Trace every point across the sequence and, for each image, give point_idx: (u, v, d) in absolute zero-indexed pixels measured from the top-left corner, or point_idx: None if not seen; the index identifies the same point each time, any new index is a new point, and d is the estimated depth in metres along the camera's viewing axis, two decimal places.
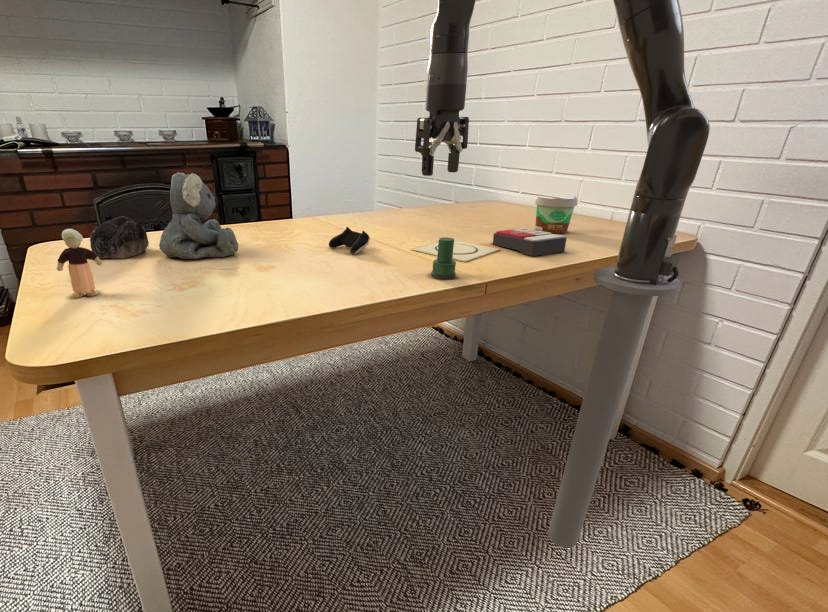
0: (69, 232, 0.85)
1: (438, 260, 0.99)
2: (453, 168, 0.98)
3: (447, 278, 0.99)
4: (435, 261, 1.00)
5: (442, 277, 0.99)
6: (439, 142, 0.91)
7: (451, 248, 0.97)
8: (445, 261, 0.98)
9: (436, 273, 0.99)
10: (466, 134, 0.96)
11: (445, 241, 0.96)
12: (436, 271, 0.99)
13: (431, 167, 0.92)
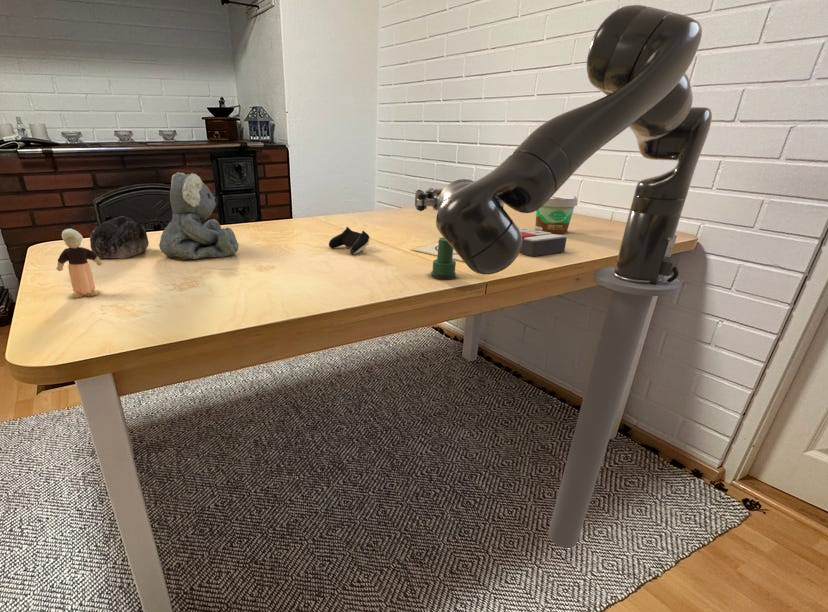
0: (69, 232, 0.85)
1: (438, 260, 0.99)
2: None
3: (447, 278, 0.99)
4: (435, 261, 1.00)
5: (442, 277, 0.99)
6: None
7: (451, 248, 0.97)
8: (445, 261, 0.98)
9: (436, 273, 0.99)
10: None
11: (445, 241, 0.96)
12: (436, 271, 0.99)
13: None
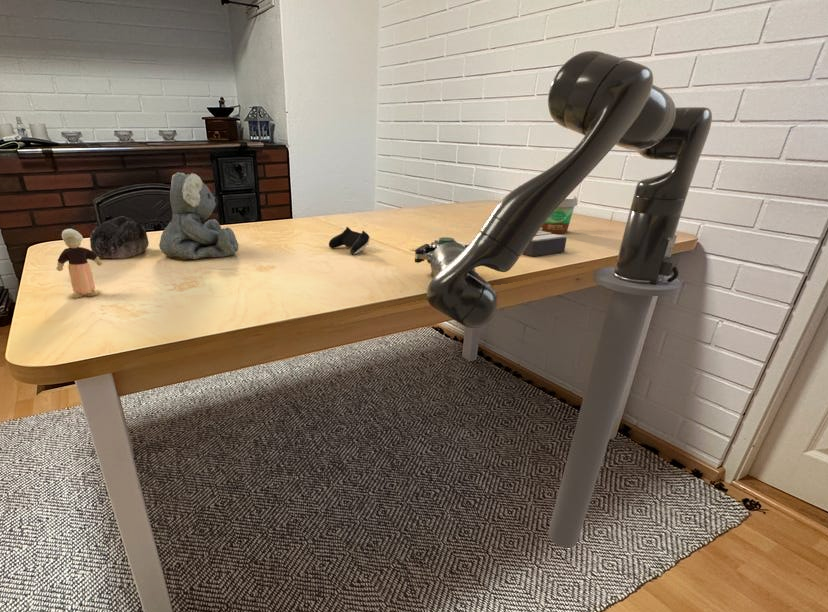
0: (69, 232, 0.85)
1: None
2: None
3: None
4: None
5: None
6: None
7: None
8: None
9: None
10: None
11: (445, 241, 0.96)
12: None
13: None
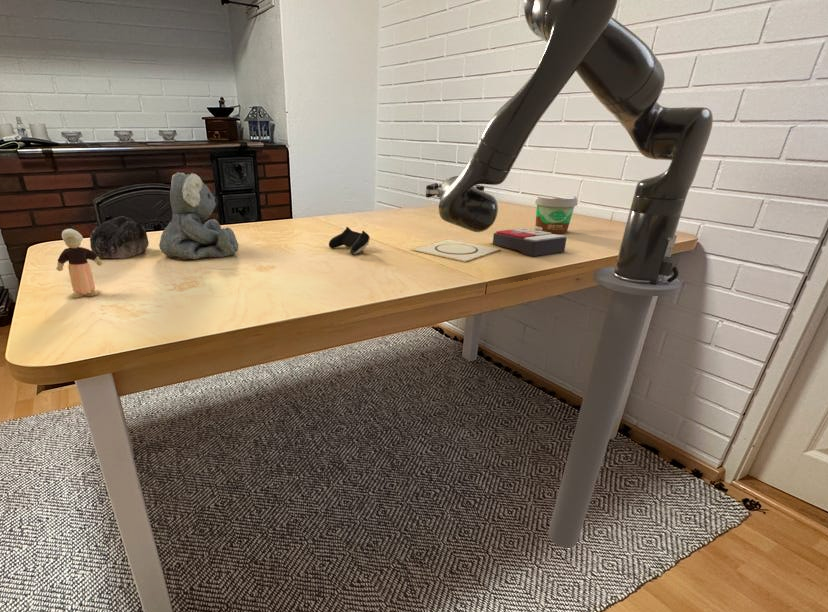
0: (69, 232, 0.85)
1: None
2: None
3: None
4: None
5: None
6: None
7: None
8: None
9: None
10: None
11: None
12: None
13: None
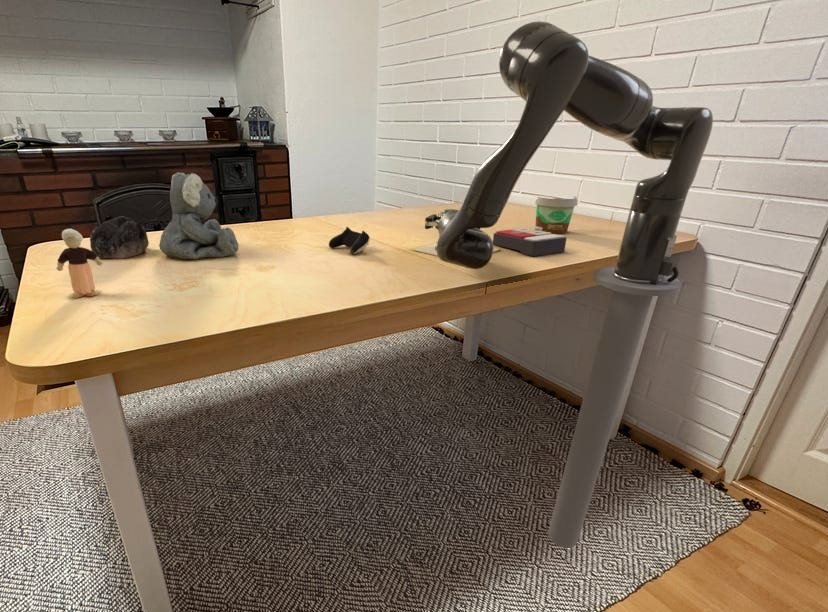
0: (69, 232, 0.85)
1: None
2: None
3: None
4: None
5: None
6: None
7: None
8: None
9: None
10: None
11: None
12: None
13: None
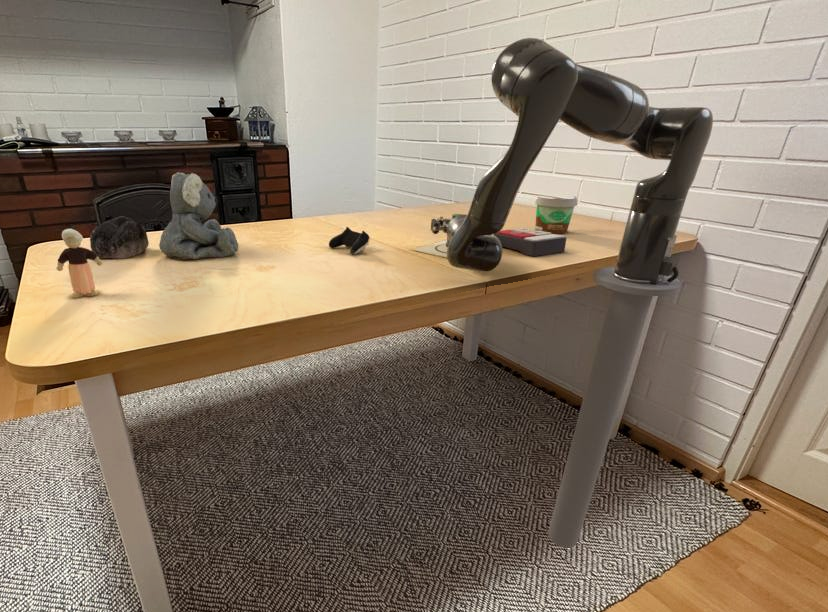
0: (69, 232, 0.85)
1: None
2: None
3: None
4: None
5: None
6: None
7: None
8: None
9: None
10: None
11: None
12: None
13: None
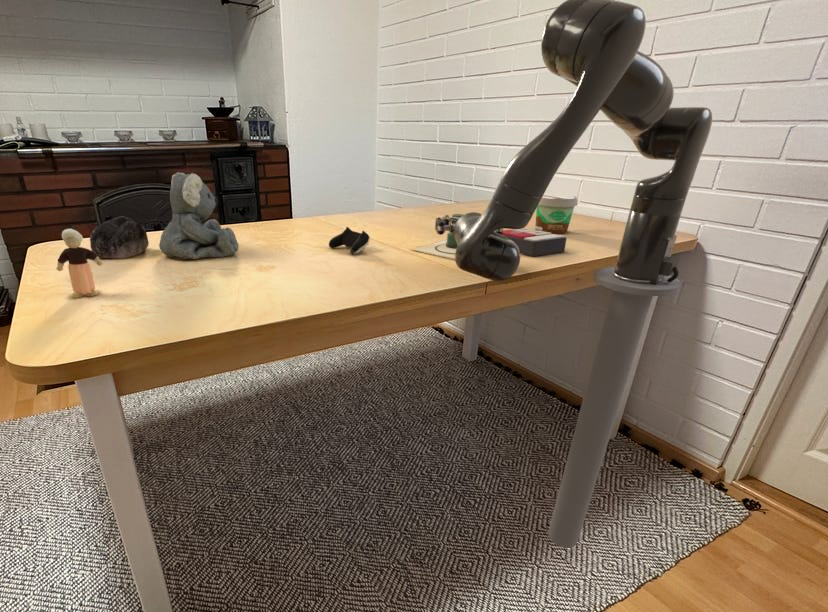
0: (69, 232, 0.85)
1: None
2: None
3: None
4: (449, 234, 1.22)
5: (455, 246, 1.21)
6: None
7: None
8: None
9: (450, 243, 1.21)
10: None
11: (458, 216, 1.18)
12: (450, 242, 1.21)
13: None
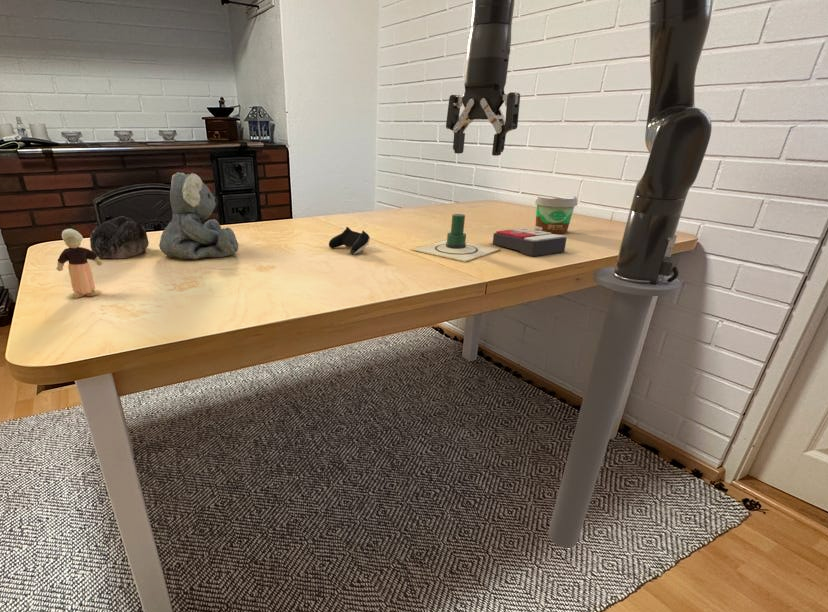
0: (69, 232, 0.85)
1: (452, 232, 1.21)
2: None
3: (459, 247, 1.21)
4: (449, 234, 1.22)
5: (455, 246, 1.21)
6: (461, 119, 0.90)
7: (462, 222, 1.19)
8: (457, 233, 1.20)
9: (450, 243, 1.21)
10: (509, 113, 0.84)
11: (458, 216, 1.18)
12: (450, 242, 1.21)
13: (455, 144, 0.94)
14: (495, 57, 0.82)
